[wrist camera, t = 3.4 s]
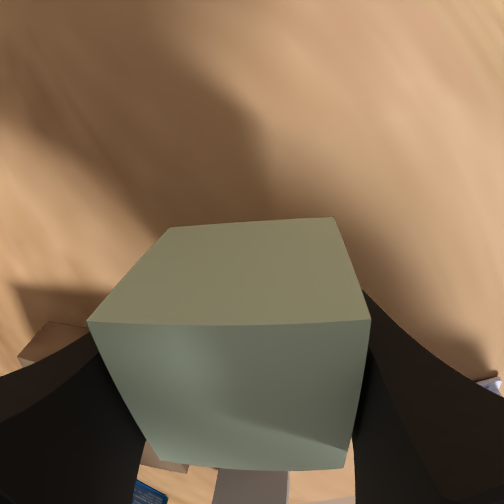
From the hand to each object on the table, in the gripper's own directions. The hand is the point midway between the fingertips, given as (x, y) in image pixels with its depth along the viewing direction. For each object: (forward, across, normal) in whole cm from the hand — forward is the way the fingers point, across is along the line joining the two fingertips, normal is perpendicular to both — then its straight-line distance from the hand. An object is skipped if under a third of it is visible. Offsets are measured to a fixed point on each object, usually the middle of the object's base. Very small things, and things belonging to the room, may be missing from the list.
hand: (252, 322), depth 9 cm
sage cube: (+2, 0, 0) cm, 2 cm away
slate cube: (+5, +2, +19) cm, 20 cm away
